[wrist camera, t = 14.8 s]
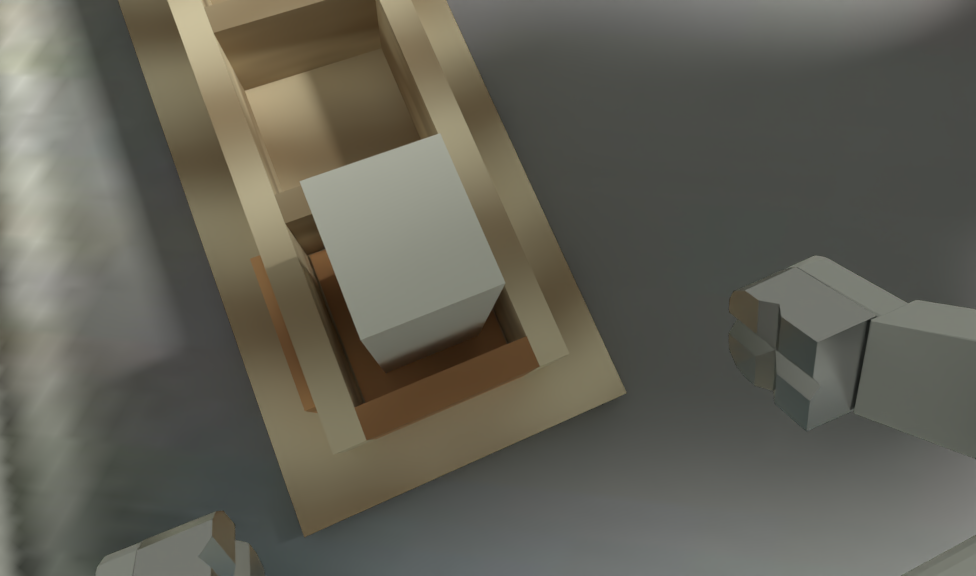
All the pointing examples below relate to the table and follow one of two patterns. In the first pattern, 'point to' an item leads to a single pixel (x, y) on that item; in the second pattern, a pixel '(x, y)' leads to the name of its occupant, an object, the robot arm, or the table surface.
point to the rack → (302, 255)
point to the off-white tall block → (406, 251)
